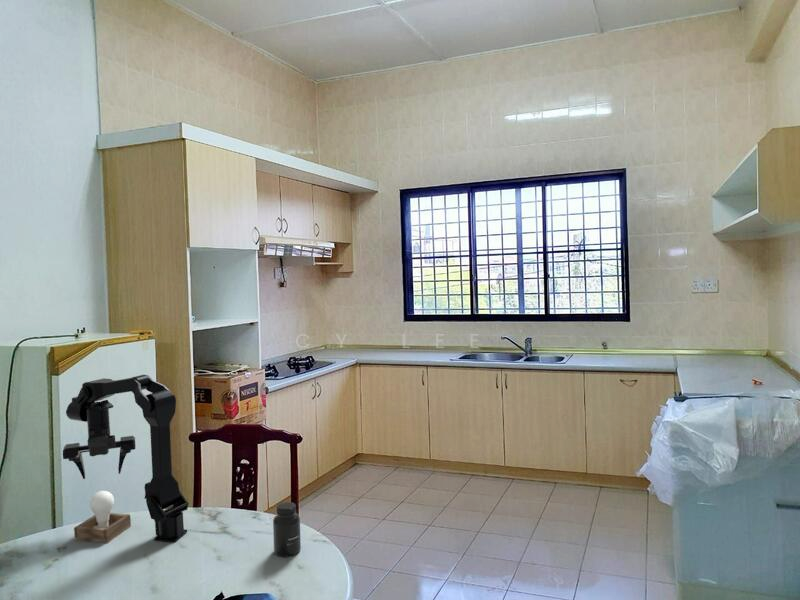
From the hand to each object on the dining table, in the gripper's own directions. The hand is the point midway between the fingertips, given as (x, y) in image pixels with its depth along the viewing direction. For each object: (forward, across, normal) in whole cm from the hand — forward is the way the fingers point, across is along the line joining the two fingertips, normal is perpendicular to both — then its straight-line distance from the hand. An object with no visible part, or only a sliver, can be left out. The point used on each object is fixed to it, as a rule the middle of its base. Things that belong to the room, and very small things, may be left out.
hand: (102, 475), depth 181 cm
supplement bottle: (+13, +44, -43) cm, 63 cm away
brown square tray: (+13, 0, -10) cm, 16 cm away
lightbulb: (+12, 0, -10) cm, 16 cm away
